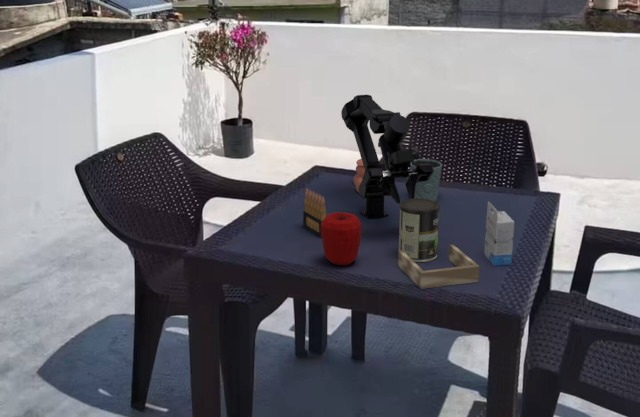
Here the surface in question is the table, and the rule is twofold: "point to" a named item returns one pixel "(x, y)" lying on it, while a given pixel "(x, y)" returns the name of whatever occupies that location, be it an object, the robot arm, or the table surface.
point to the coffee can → (419, 229)
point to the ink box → (498, 237)
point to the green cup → (432, 185)
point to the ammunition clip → (313, 212)
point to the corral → (441, 270)
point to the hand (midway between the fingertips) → (406, 202)
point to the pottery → (359, 174)
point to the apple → (341, 237)
